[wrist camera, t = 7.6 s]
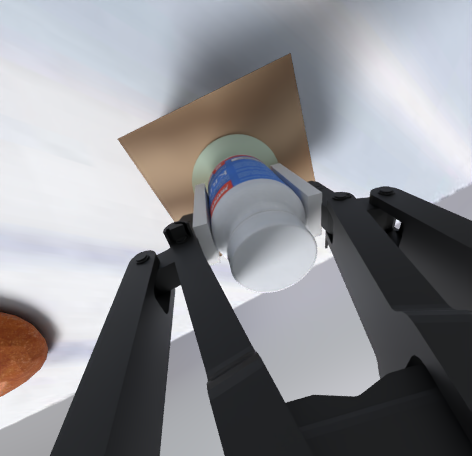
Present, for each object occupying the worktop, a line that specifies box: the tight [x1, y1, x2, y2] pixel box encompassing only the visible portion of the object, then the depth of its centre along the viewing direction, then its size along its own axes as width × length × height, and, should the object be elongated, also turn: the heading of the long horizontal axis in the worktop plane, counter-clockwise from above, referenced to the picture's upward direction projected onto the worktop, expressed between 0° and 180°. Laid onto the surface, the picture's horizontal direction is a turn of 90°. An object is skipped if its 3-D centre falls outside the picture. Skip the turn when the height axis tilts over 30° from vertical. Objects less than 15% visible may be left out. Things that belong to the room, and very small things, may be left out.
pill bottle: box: [208, 154, 317, 293], centre depth 13 cm, size 6×5×10 cm
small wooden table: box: [118, 53, 315, 256], centre depth 22 cm, size 14×14×9 cm
